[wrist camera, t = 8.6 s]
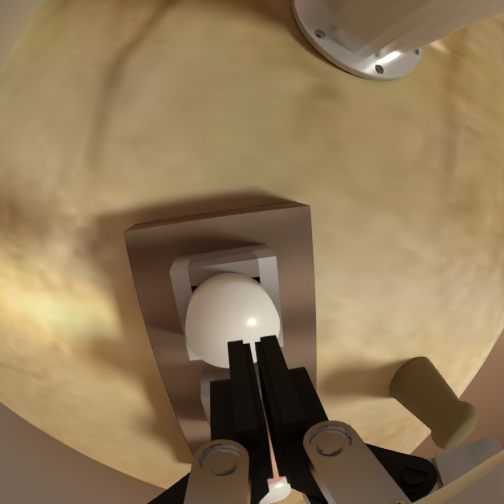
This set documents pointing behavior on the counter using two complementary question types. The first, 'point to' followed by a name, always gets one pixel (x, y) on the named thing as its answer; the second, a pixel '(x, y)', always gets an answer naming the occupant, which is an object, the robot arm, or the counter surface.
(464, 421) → the cork
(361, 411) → the counter surface
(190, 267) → the button board
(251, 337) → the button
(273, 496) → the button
